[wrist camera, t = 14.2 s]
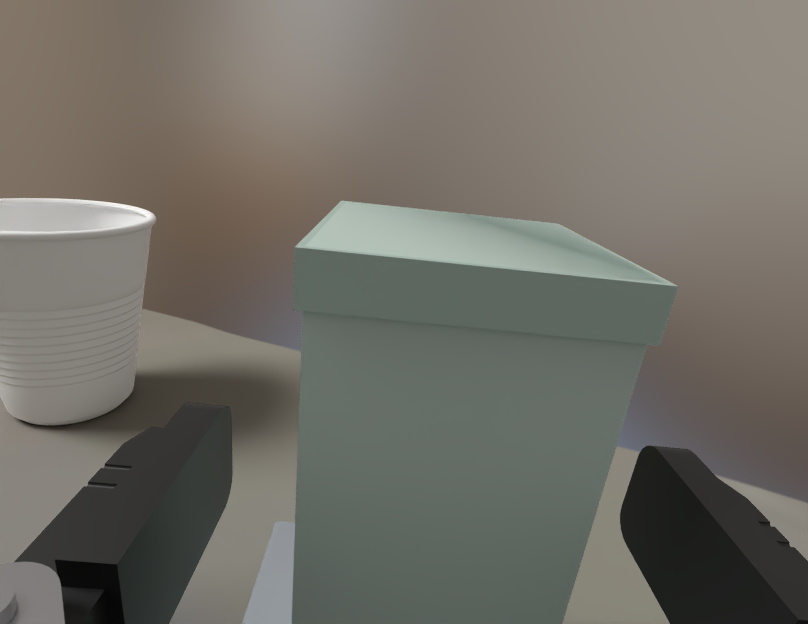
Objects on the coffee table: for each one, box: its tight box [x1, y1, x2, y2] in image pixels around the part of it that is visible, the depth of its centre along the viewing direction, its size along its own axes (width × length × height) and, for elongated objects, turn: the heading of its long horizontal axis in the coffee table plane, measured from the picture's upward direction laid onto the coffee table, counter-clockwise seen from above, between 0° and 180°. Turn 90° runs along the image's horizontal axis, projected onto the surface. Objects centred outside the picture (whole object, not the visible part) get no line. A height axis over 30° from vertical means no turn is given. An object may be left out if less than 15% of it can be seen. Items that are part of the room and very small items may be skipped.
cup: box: [0, 198, 156, 425], centre depth 26 cm, size 10×10×11 cm
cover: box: [292, 201, 678, 624], centre depth 10 cm, size 5×5×11 cm
